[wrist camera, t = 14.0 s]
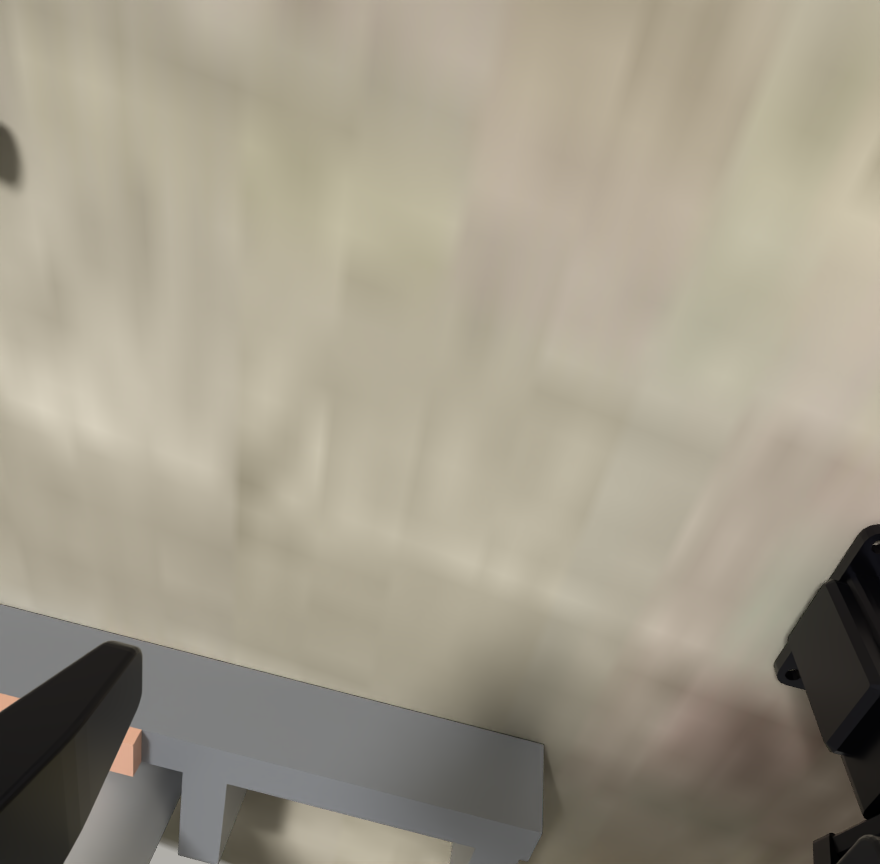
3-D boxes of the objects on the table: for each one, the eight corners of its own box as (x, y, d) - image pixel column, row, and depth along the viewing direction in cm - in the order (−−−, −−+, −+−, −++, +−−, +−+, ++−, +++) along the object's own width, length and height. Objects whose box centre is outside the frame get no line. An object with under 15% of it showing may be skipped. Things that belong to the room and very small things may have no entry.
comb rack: (543, 744, 28) (541, 850, 25) (496, 847, 32) (488, 952, 29) (-48, 592, 29) (-132, 676, 25) (-27, 712, 32) (-98, 800, 29)
